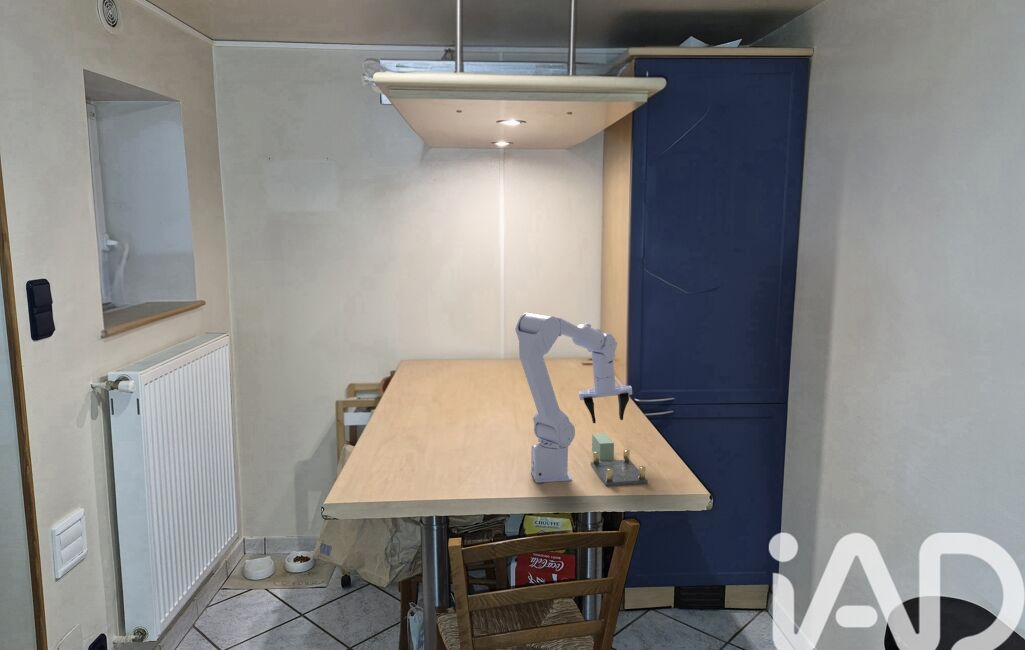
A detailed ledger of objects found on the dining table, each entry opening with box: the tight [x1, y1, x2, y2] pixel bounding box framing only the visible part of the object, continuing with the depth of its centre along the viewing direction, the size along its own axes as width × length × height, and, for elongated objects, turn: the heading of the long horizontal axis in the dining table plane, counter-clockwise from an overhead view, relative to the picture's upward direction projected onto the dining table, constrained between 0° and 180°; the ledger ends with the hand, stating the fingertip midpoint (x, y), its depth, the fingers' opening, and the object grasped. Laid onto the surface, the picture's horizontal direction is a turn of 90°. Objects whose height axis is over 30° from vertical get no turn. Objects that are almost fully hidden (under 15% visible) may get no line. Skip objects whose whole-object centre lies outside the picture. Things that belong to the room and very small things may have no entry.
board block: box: [591, 433, 615, 461], centre depth 197 cm, size 4×8×5 cm, turn 9°
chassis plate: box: [590, 448, 649, 487], centre depth 183 cm, size 11×15×4 cm
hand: (607, 420), depth 195 cm, fingers open, 7 cm apart
